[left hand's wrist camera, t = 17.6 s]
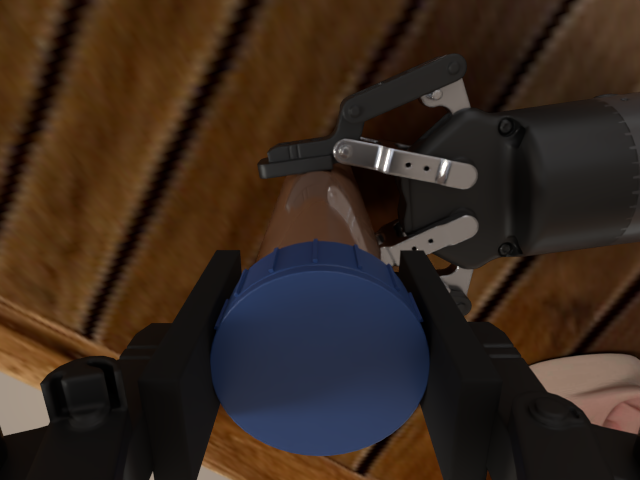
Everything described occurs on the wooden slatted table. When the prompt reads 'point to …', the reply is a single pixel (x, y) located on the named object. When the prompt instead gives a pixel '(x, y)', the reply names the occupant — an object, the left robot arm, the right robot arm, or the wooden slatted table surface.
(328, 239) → the brown tube
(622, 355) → the anatomical model
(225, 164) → the wooden slatted table surface
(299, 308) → the lid
